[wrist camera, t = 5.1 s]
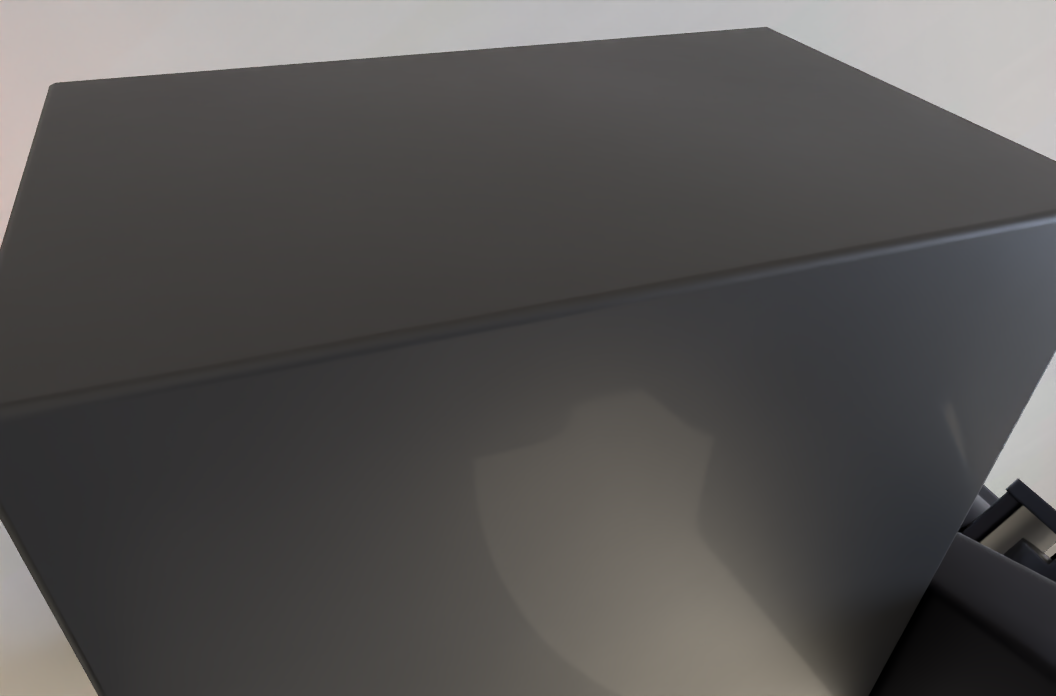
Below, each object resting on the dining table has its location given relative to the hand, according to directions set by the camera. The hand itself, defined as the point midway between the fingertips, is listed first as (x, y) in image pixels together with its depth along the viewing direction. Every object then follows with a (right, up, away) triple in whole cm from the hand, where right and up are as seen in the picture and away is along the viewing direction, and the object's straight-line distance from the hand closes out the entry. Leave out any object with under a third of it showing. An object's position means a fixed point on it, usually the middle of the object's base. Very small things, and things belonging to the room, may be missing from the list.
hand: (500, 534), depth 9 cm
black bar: (0, +1, +1) cm, 1 cm away
